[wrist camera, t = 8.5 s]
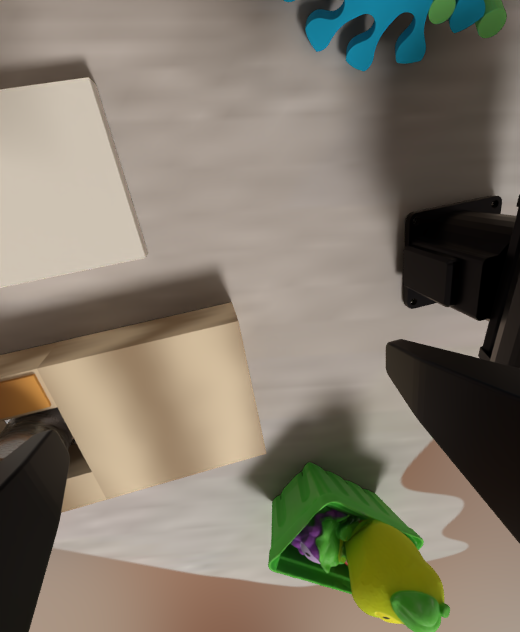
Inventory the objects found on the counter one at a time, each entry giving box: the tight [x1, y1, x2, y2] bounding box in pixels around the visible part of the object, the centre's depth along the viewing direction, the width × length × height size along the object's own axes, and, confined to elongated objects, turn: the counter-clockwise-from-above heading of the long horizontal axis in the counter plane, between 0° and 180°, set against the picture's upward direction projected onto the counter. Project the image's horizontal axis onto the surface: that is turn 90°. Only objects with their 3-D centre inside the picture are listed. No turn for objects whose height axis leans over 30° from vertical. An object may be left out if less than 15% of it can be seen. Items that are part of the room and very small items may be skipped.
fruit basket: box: [268, 462, 450, 632], centre depth 24 cm, size 11×9×11 cm
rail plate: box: [0, 302, 266, 513], centre depth 20 cm, size 18×10×3 cm, turn 99°
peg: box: [0, 407, 74, 461], centre depth 18 cm, size 5×5×7 cm
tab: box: [0, 77, 148, 288], centre depth 16 cm, size 10×8×1 cm
